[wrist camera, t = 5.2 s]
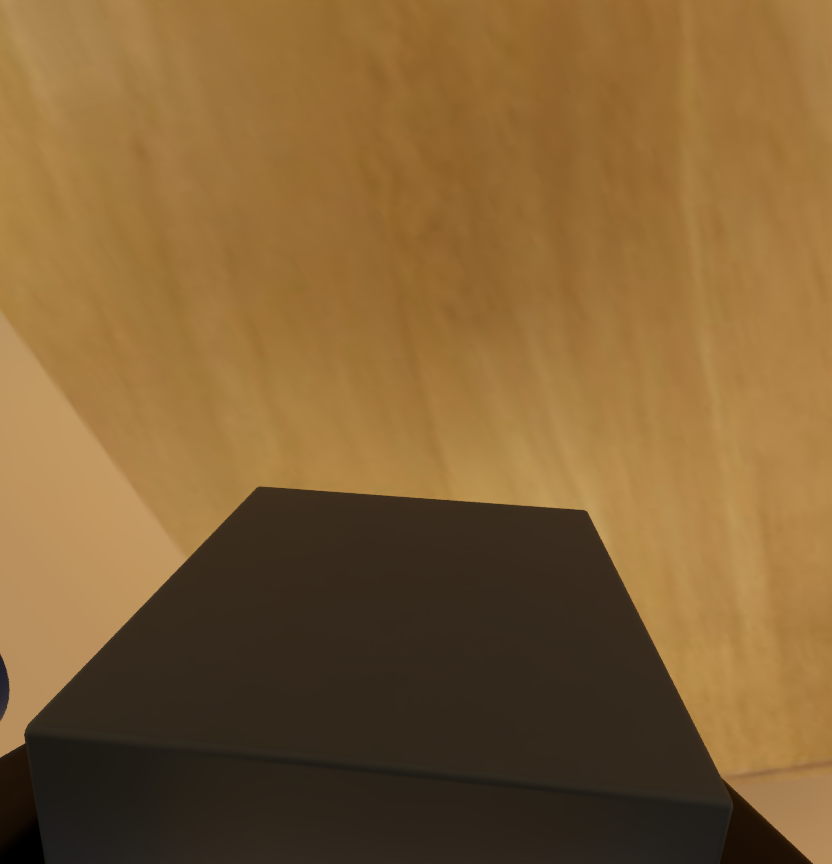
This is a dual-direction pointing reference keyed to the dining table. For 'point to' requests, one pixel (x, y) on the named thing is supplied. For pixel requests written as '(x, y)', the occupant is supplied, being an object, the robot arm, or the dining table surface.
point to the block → (379, 701)
